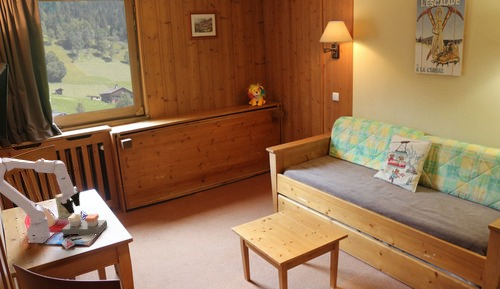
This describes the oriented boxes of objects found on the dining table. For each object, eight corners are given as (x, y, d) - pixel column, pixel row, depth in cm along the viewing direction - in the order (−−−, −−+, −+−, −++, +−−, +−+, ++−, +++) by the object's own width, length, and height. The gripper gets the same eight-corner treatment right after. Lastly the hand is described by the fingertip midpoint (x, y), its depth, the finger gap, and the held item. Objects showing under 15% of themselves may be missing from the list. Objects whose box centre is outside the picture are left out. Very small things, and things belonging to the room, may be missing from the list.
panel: (97, 235, 205) (96, 229, 204) (63, 234, 207) (62, 229, 206) (107, 225, 214) (106, 220, 213) (74, 225, 217) (73, 219, 216)
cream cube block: (78, 227, 208) (76, 218, 207) (69, 226, 209) (67, 218, 207) (82, 222, 212) (81, 214, 211) (74, 222, 213) (72, 214, 212)
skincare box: (61, 219, 225) (56, 197, 222) (58, 216, 228) (54, 195, 225) (73, 215, 229) (69, 193, 226) (70, 212, 232) (66, 191, 229)
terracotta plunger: (95, 227, 207) (93, 218, 205) (86, 227, 207) (84, 218, 206) (99, 222, 211) (98, 214, 210) (91, 222, 212) (89, 214, 210)
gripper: (67, 190, 199) (77, 215, 203) (79, 177, 212) (87, 201, 217) (53, 192, 199) (63, 217, 204) (65, 179, 213) (74, 203, 217)
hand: (75, 209), depth 210 cm, fingers open, 7 cm apart
